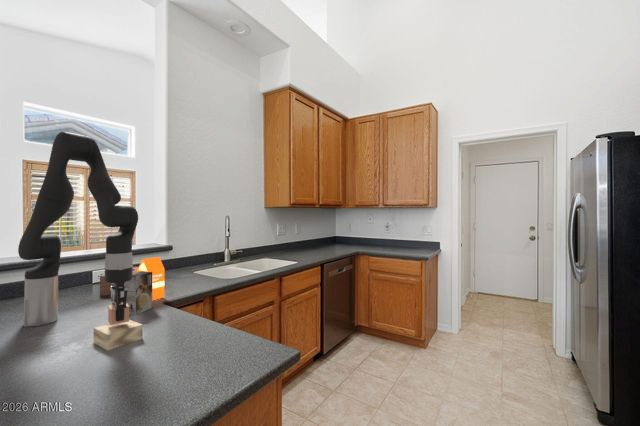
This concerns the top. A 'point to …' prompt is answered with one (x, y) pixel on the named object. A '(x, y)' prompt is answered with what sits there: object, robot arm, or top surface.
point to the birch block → (117, 334)
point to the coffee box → (139, 292)
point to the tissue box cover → (109, 284)
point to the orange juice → (154, 275)
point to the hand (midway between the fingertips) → (118, 318)
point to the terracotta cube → (113, 314)
